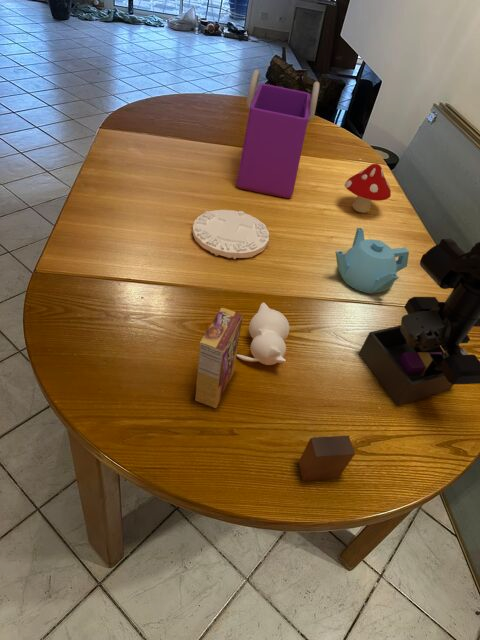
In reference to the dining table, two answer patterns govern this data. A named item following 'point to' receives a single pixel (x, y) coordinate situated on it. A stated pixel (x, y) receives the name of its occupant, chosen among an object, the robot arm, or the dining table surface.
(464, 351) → the robot arm
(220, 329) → the candy box
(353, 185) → the decorative mushroom
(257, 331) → the cat figurine
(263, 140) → the shopping bag
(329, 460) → the block stand
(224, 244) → the white round plaque
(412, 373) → the chocolate bar
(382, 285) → the teakettle
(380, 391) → the dining table surface
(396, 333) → the waste bin
